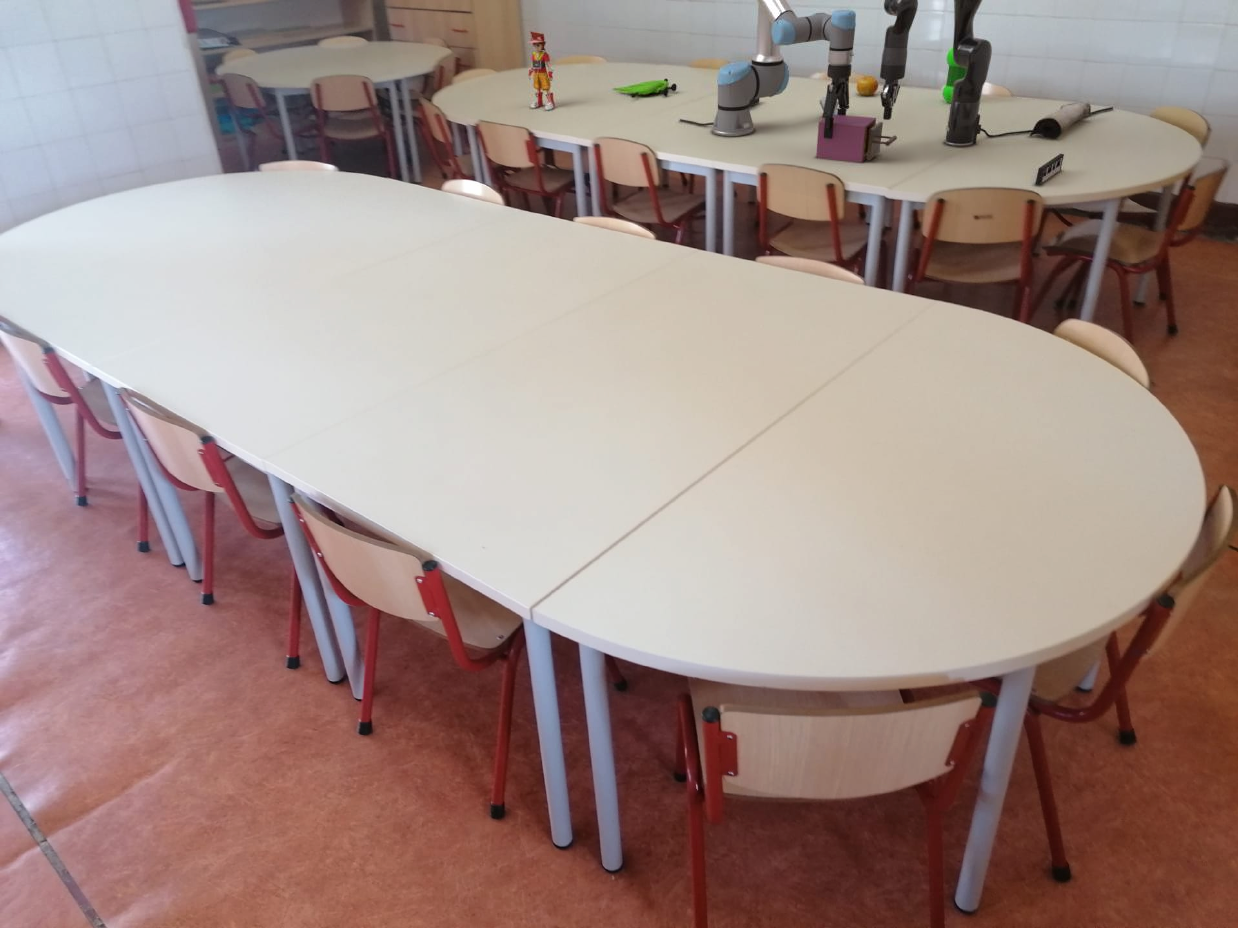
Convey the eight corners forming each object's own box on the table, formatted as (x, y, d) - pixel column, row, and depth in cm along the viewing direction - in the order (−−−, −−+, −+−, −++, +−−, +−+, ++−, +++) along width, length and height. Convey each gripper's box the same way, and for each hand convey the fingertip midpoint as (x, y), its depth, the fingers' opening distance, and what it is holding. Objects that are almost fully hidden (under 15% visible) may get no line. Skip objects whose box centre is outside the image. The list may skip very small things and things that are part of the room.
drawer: (896, 154, 300) (899, 123, 294) (886, 162, 293) (890, 131, 288) (837, 147, 309) (840, 118, 304) (827, 155, 302) (830, 125, 297)
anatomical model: (814, 91, 345) (840, 84, 344) (817, 118, 351) (843, 112, 350) (825, 101, 333) (851, 93, 332) (828, 129, 339) (854, 122, 338)
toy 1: (525, 109, 381) (517, 32, 364) (534, 104, 388) (527, 28, 371) (550, 110, 377) (543, 32, 360) (559, 105, 384) (553, 28, 367)
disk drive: (744, 111, 360) (759, 102, 370) (744, 104, 358) (760, 95, 368) (721, 109, 365) (737, 100, 375) (721, 102, 363) (737, 93, 373)
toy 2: (686, 85, 398) (631, 84, 414) (685, 72, 395) (629, 72, 411) (651, 104, 381) (596, 103, 397) (650, 92, 378) (594, 91, 394)
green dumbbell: (973, 101, 354) (984, 32, 339) (955, 106, 349) (966, 36, 335) (952, 97, 361) (962, 29, 346) (934, 102, 356) (944, 33, 342)
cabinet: (872, 153, 305) (876, 118, 298) (861, 162, 297) (865, 126, 290) (827, 149, 312) (830, 114, 305) (816, 157, 304) (818, 122, 298)
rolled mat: (1058, 107, 328) (1083, 90, 320) (1071, 128, 329) (1097, 111, 320) (1025, 130, 311) (1051, 112, 303) (1040, 152, 311) (1065, 134, 303)
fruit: (851, 87, 368) (863, 69, 365) (853, 91, 376) (865, 73, 373) (868, 99, 367) (880, 81, 364) (870, 102, 374) (882, 84, 371)
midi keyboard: (1039, 185, 269) (1043, 168, 266) (1035, 184, 270) (1038, 168, 267) (1060, 170, 279) (1064, 154, 277) (1056, 169, 280) (1060, 153, 277)
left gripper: (838, 72, 280) (832, 143, 293) (863, 57, 296) (856, 126, 309) (815, 70, 284) (810, 141, 296) (841, 56, 300) (835, 124, 312)
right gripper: (899, 67, 275) (892, 125, 285) (912, 58, 284) (904, 115, 294) (875, 65, 278) (868, 123, 288) (888, 57, 287) (882, 113, 297)
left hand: (834, 133), depth 302 cm, fingers closed on cabinet, 11 cm apart
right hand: (887, 119), depth 291 cm, fingers closed
